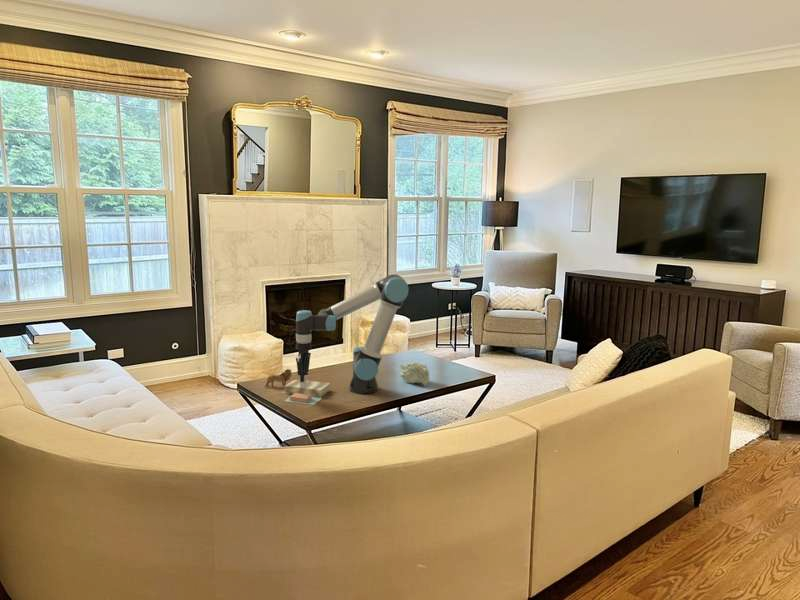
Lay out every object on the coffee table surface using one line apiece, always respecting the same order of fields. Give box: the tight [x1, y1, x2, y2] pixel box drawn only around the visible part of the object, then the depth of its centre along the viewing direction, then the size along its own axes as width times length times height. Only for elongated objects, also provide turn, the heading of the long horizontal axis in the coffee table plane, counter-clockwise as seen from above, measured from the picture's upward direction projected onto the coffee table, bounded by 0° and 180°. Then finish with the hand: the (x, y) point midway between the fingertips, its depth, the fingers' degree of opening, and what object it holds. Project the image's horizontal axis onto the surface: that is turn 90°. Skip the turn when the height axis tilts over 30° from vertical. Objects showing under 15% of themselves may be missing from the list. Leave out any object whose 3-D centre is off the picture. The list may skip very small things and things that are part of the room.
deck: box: [284, 378, 331, 398], centre depth 301 cm, size 20×12×4 cm, turn 75°
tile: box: [289, 393, 312, 403], centre depth 289 cm, size 9×6×2 cm, turn 75°
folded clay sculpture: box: [399, 361, 430, 387], centre depth 321 cm, size 18×13×16 cm
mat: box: [283, 396, 323, 406], centre depth 289 cm, size 16×11×1 cm
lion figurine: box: [264, 368, 293, 389], centre depth 308 cm, size 15×5×9 cm, turn 118°
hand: (303, 387), depth 291 cm, fingers closed
